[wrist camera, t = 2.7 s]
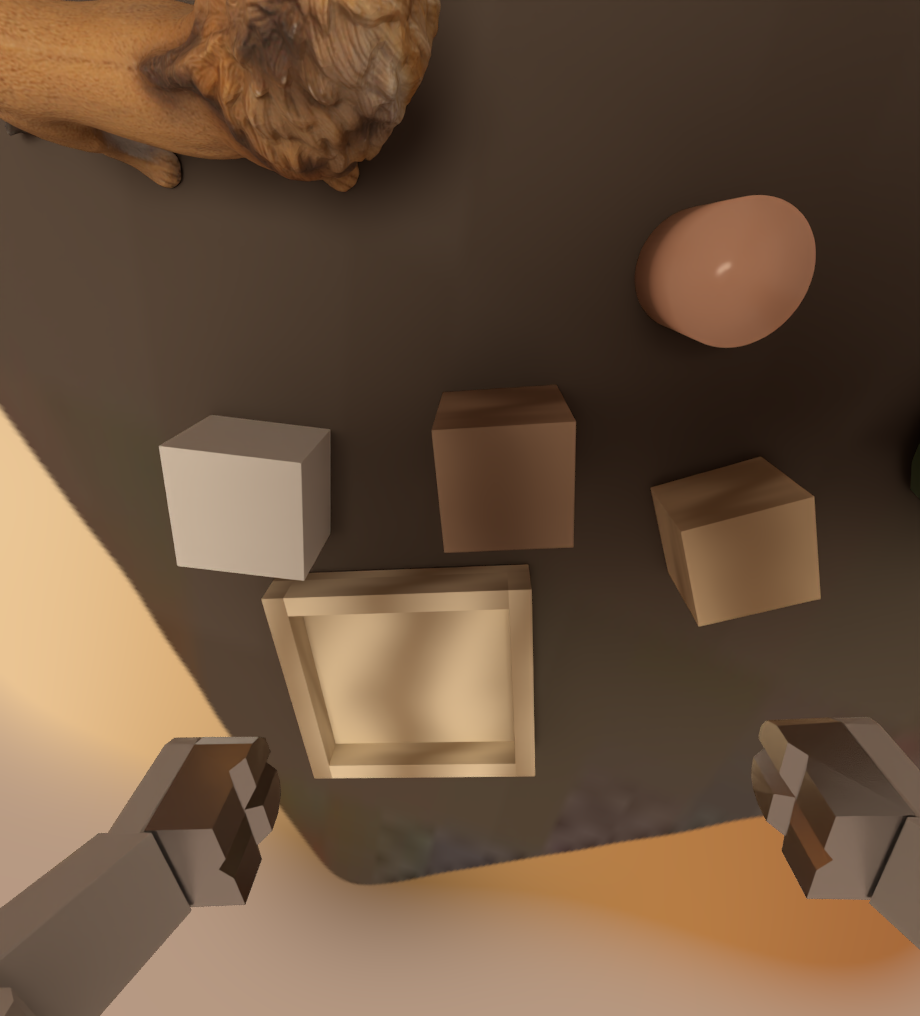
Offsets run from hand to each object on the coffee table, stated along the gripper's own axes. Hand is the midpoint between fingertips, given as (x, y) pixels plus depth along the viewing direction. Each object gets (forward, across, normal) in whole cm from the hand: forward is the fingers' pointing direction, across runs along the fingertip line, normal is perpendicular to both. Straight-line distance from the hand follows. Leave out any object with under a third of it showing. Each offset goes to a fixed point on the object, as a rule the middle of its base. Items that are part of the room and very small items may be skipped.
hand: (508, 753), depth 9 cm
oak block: (+15, -10, +4) cm, 18 cm away
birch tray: (+15, +4, +12) cm, 19 cm away
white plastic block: (+15, +10, 0) cm, 18 cm away
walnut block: (+15, 0, 0) cm, 15 cm away
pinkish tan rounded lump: (+14, -8, -6) cm, 18 cm away
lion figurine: (+15, +7, -13) cm, 21 cm away
